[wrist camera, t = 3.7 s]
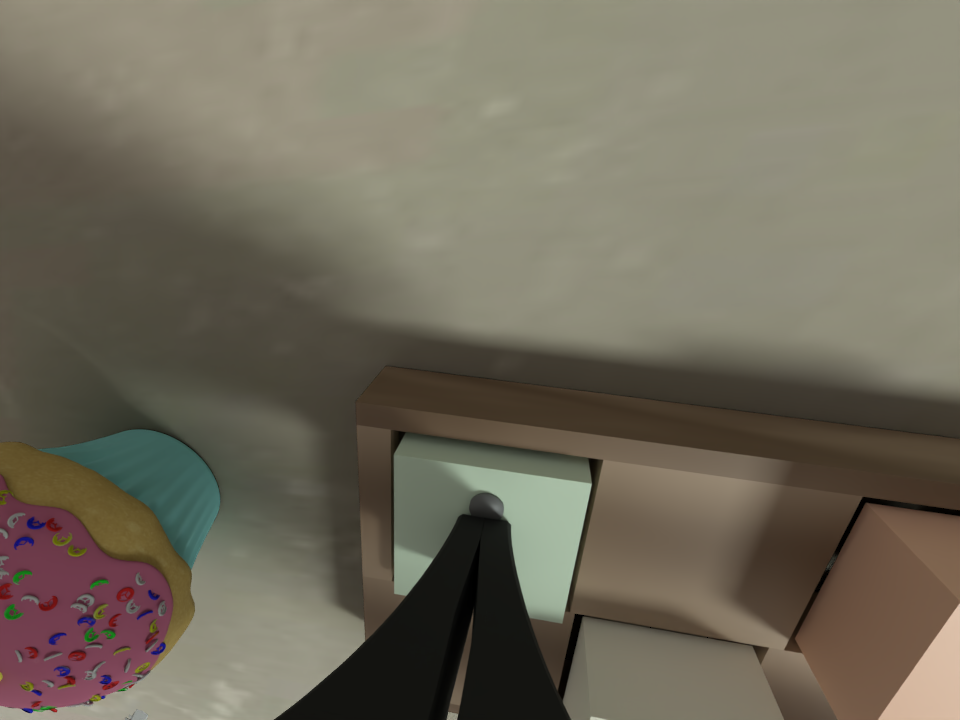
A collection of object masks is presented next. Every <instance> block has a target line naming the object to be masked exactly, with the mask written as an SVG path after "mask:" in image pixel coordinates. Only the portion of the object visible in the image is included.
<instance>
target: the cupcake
mask: <svg viewBox="0 0 960 720" xmlns="http://www.w3.org/2000/svg"><path fill="white" fill-rule="evenodd" d="M219 507H220V493H219V488H218V485H217V482H216V480H215V477H214V476H213V474H212V472H211V470H210V469H209V467H208V466H207V465H206V463H205V462H204V461H203V460H202V459H201V458H200V457H199V456H198V455H197V454H196V453H195V452H194V451H193V450H192V449H190V448H189V447H188V446H186V445H185V444H183V443H182V442H180V441H178V440H176V439H175V438H173V437H170V436H168V435H166V434H163V433H160V432H156V431H152V430H145V429H135V430H127V431H123V432H120V433H117V434H113V435H110V436H107V437H103V438H100V439H96V440H92V441H89V442H85V443H80V444H75V445H70V446H65V447H58V448H45V449H38V450H37V449H35V448H33V447H31V446H29V445H27V444H24V443H21V442H3V443H0V706H5V707H9V708H20V709H22V710H23V711H25V712H27V713H32V712H33V710H34V711H38V712H43V711H44V710H51V711H53V712H57V710H56V709H55V708H58V707H65V706H67V707H77V706H80V705H84V706H92V705H93V701H99V700H101V699H104V698H105V696H106V695H107V694H110V693H113V692H116V691H126V690H127V689H128V688H126V687H128V686H129V688H131V687H132V686H133V685H134V684H136V683H138V682H139V681H141V680H143V679H144V678H145V677H146V676H147V675H148V674H149V673H150V671H151V670H152V669H153V668H154V667H155V666H156V665H157V664H159V663H160V662H161V661H162V660H163V658H164V657H165V656H166V655H167V654H168V653H169V652H170V650H171V649H172V648H173V647H174V645H175V644H176V642H177V641H178V640H179V638H180V637H181V636H182V634H183V633H184V631H185V630H186V628H187V627H188V625H189V624H190V622H191V620H192V618H193V616H194V612H195V604H194V601H193V598H192V596H191V592H190V587H191V580H192V573H191V569H192V567H193V564H194V562H195V559H196V557H197V555H198V553H199V550H200V548H201V546H202V544H203V542H204V540H205V538H206V536H207V534H208V532H209V530H210V528H211V526H212V524H213V522H214V520H215V518H216V516H217V514H218V511H219ZM84 702H85V703H84ZM87 702H89V704H87Z"/></svg>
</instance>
